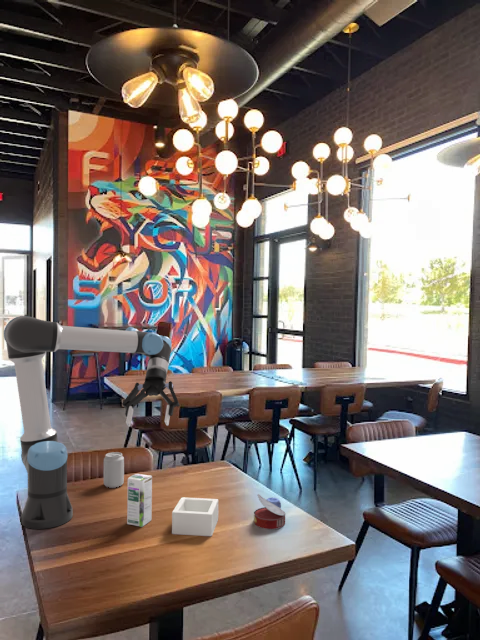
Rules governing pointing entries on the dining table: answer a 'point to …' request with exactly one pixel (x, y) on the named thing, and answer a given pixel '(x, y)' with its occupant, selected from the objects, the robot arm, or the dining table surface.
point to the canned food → (269, 515)
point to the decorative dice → (275, 501)
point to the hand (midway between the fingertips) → (147, 424)
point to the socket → (195, 516)
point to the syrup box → (139, 500)
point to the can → (113, 470)
